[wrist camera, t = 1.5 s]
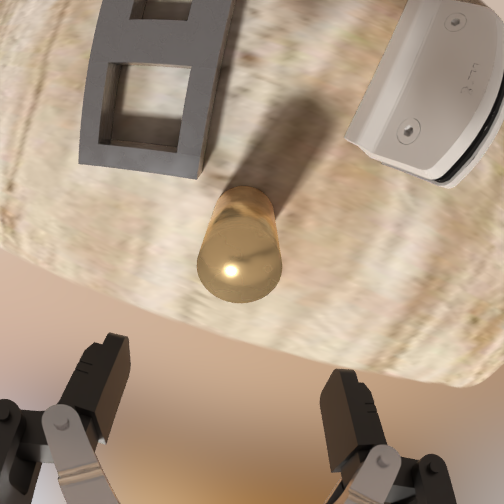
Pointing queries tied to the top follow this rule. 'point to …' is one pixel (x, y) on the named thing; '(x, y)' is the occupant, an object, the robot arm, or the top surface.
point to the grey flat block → (153, 54)
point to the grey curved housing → (435, 92)
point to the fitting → (241, 247)
